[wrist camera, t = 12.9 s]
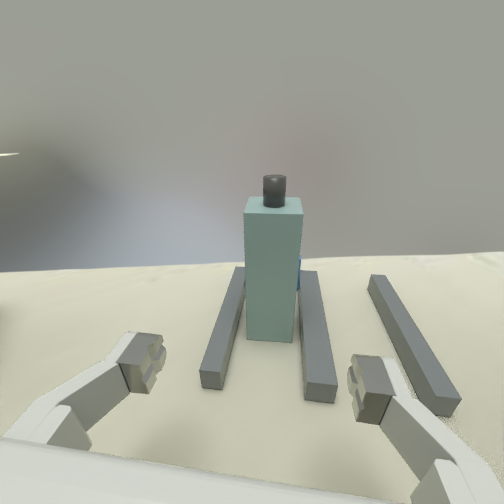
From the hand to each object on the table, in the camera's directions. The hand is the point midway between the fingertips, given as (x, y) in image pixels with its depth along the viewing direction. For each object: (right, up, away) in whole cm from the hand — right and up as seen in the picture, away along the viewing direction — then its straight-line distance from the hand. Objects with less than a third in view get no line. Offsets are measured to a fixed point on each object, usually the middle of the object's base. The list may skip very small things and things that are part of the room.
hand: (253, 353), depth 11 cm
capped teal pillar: (+2, -3, +13) cm, 14 cm away
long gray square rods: (+6, -3, +13) cm, 14 cm away
